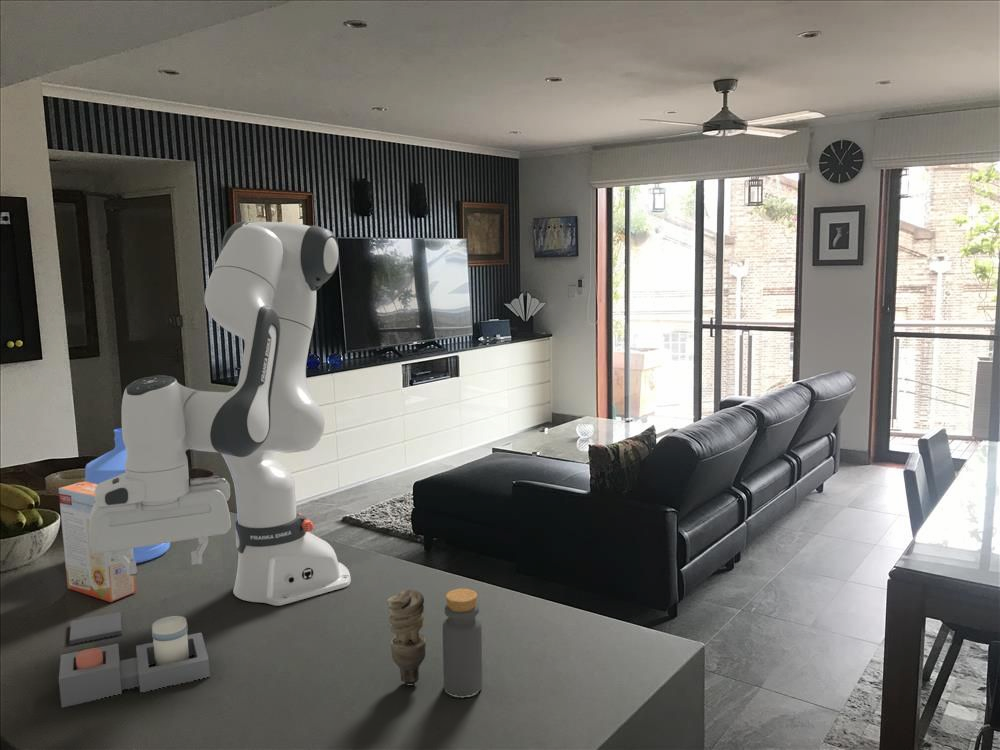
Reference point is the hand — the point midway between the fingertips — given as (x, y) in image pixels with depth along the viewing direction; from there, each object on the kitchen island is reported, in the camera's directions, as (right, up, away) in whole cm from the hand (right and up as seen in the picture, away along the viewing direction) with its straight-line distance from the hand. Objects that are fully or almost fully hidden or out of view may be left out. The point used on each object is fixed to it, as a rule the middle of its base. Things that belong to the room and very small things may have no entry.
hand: (164, 568), depth 125 cm
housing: (-4, -17, +1) cm, 18 cm away
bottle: (+47, -18, -3) cm, 50 cm away
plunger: (-10, -17, -2) cm, 20 cm away
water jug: (-29, -9, +52) cm, 61 cm away
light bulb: (+38, -17, -2) cm, 42 cm away
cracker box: (-26, -12, +33) cm, 44 cm away
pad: (-19, -15, +17) cm, 29 cm away
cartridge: (0, -17, +3) cm, 17 cm away
